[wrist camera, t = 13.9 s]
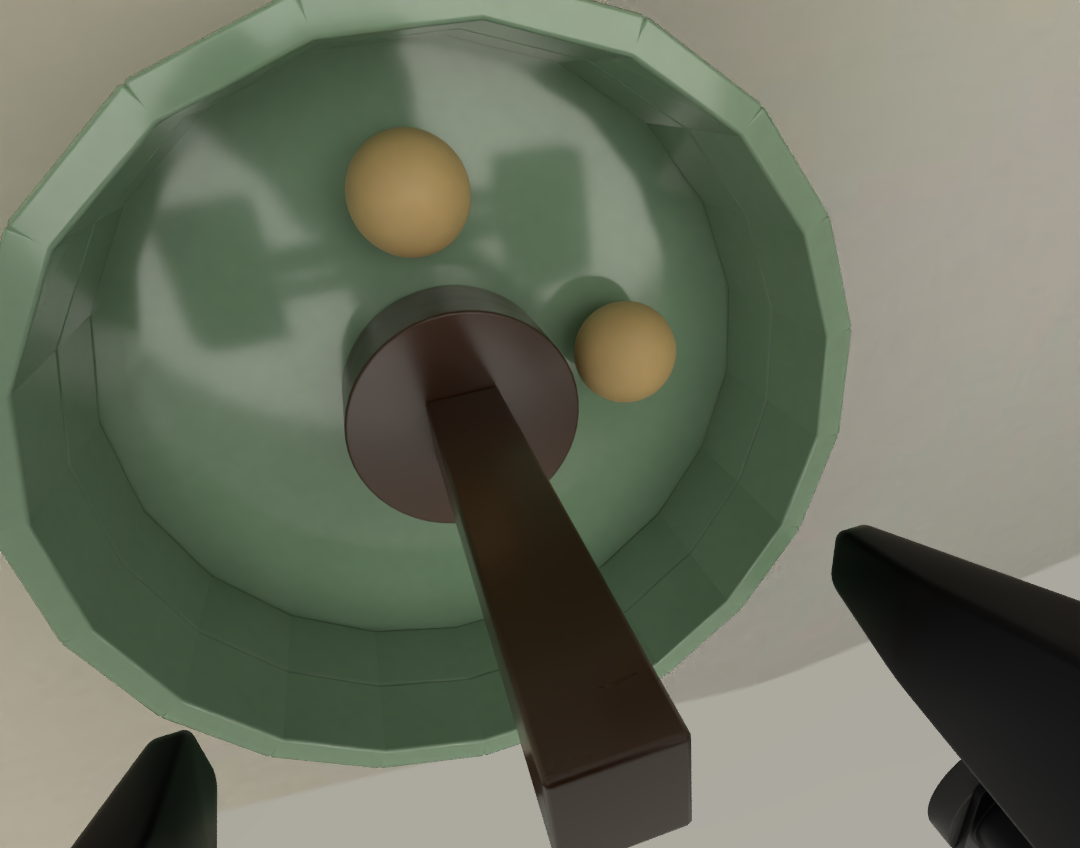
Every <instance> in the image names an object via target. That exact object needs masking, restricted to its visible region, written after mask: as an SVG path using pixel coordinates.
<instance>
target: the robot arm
mask: <svg viewBox="0 0 1080 848" xmlns="http://www.w3.org/2000/svg"><path fill="white" fill-rule="evenodd" d="M831 575H832V581H833V584H834V586H835V589H836V590H837V592H838V594H839V595H840V597H841V598H842V600H843V601H844V603H845V604H846V606H847V607H848V608H849V610H850V611H851V613H852V614H853V616H854V617H855V619H856V620H857V622H858V623H859V625H860V626H861V628H862V629H863V631H864V632H865V634H866V635H867V637H868V638H869V640H870V641H871V643H872V644H873V646H874V647H875V649H876V650H877V652H878V653H879V655H880V656H881V658H882V659H883V661H884V662H885V664H886V665H887V667H888V668H889V670H890V671H891V672H892V674H893V675H894V677H895V678H896V679H897V681H898V682H899V683H900V684H901V686H902V687H903V688H904V690H905V691H906V692H907V693H908V694H909V696H910V697H911V698H912V700H913V701H914V702H915V703H916V704H917V705H918V707H919V708H920V709H921V711H922V712H923V713H924V714H925V715H926V717H927V718H928V719H929V720H930V722H931V723H932V724H933V725H934V727H935V728H936V729H937V730H938V731H939V732H940V734H941V735H942V736H943V738H944V739H945V740H946V741H947V742H948V743H949V745H950V746H951V747H952V749H953V750H954V751H955V752H956V753H957V755H958V756H959V757H960V758H961V760H962V761H963V762H964V763H965V765H966V766H967V767H968V768H969V769H970V771H971V772H972V773H973V774H974V776H975V777H976V778H977V779H978V780H979V782H980V783H979V784H978V785H977V786H976V787H975V789H974V791H973V794H972V797H971V800H970V803H969V806H968V809H967V812H966V815H965V818H964V821H963V824H962V827H961V830H960V833H959V836H958V839H957V842H956V845H955V848H1080V601H1078V600H1075V599H1073V598H1070V597H1067V596H1064V595H1062V594H1059V593H1056V592H1053V591H1050V590H1048V589H1045V588H1042V587H1039V586H1036V585H1034V584H1031V583H1028V582H1025V581H1022V580H1020V579H1017V578H1014V577H1011V576H1009V575H1006V574H1003V573H1000V572H997V571H995V570H992V569H989V568H986V567H983V566H981V565H978V564H975V563H972V562H969V561H967V560H964V559H961V558H958V557H955V556H953V555H950V554H947V553H944V552H941V551H939V550H936V549H933V548H930V547H927V546H925V545H922V544H919V543H916V542H913V541H911V540H908V539H905V538H902V537H900V536H897V535H894V534H891V533H888V532H886V531H883V530H880V529H877V528H874V527H871V526H868V525H860V526H857V527H853V528H850V529H847V530H843V531H841V532H840V533H839V534H838V535H837V537H836V541H835V549H834V556H833V564H832V573H831ZM71 848H217V782H216V777H215V773H214V770H213V768H212V766H211V764H210V763H209V761H208V759H207V757H206V756H205V754H204V752H203V751H202V749H201V747H200V745H199V744H198V742H197V740H196V738H195V737H194V735H193V734H192V733H191V732H189V731H187V730H182V731H179V732H175V733H172V734H169V735H165V736H162V737H159V738H156V739H154V740H152V741H151V742H150V743H149V744H148V745H147V746H146V747H145V748H144V750H143V751H142V752H141V754H140V755H139V756H138V758H137V759H136V760H135V762H134V763H133V764H132V766H131V767H130V769H129V770H128V771H127V773H126V774H125V775H124V777H123V778H122V779H121V781H120V782H119V783H118V785H117V786H116V787H115V789H114V790H113V791H112V793H111V794H110V796H109V797H108V798H107V800H106V801H105V802H104V804H103V805H102V806H101V808H100V809H99V810H98V812H97V813H96V814H95V816H94V817H93V819H92V820H91V821H90V823H89V824H88V825H87V827H86V828H85V829H84V831H83V832H82V833H81V835H80V836H79V837H78V839H77V840H76V842H75V843H74V844H73V846H72V847H71Z"/></svg>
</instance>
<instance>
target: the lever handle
mask: <svg viewBox="0 0 1080 848" xmlns="http://www.w3.org/2000/svg"><path fill="white" fill-rule="evenodd" d="M342 396H343V414H344V431H345V441H346V446H347V450H348V454H349V457H350V459H351V462H352V464H353V467H354V468H355V470H356V472H357V474H358V475H359V477H360V479H361V480H362V481H363V482H364V484H365V485H366V486H367V487H368V489H369V490H370V491H371V492H372V493H374V494H375V495H376V496H377V497H378V498H379V499H380V500H382V501H383V502H384V503H386V504H387V505H389V506H390V507H392V508H394V509H395V510H397V511H399V512H401V513H403V514H406V515H408V516H411V517H414V518H417V519H421V520H425V521H429V522H437V523H456V525H457V528H458V532H459V535H460V538H461V542H462V545H463V549H464V552H465V555H466V559H467V562H468V566H469V569H470V572H471V576H472V579H473V583H474V586H475V589H476V593H477V596H478V600H479V603H480V606H481V610H482V613H483V617H484V620H485V623H486V627H487V630H488V634H489V637H490V640H491V644H492V647H493V650H494V654H495V657H496V661H497V664H498V667H499V671H500V674H501V678H502V681H503V684H504V688H505V691H506V695H507V698H508V701H509V705H510V708H511V712H512V715H513V718H514V722H515V725H516V729H517V732H518V735H519V739H520V742H521V746H522V749H523V752H524V756H525V759H526V762H527V766H528V769H529V772H530V776H531V779H532V783H533V786H534V790H535V793H536V796H537V800H538V803H539V807H540V810H541V813H542V817H543V820H544V824H545V827H546V830H547V834H548V837H549V841H550V844H551V847H552V848H628V847H631V846H634V845H636V844H639V843H642V842H644V841H647V840H649V839H652V838H655V837H657V836H660V835H663V834H665V833H668V832H671V831H673V830H676V829H678V828H681V827H684V826H686V825H688V824H689V823H690V822H691V821H692V809H691V808H692V804H691V803H692V800H691V799H692V798H691V734H690V732H689V730H688V728H687V727H686V725H685V723H684V721H683V719H682V718H681V716H680V714H679V712H678V710H677V709H676V707H675V705H674V703H673V701H672V700H671V698H670V696H669V694H668V692H667V691H666V689H665V687H664V685H663V683H662V682H661V680H660V678H659V676H658V675H657V673H656V671H655V669H654V667H653V666H652V664H651V662H650V660H649V658H648V657H647V655H646V653H645V651H644V649H643V648H642V646H641V644H640V642H639V640H638V639H637V637H636V635H635V633H634V632H633V630H632V628H631V626H630V624H629V623H628V621H627V619H626V617H625V615H624V614H623V612H622V610H621V608H620V606H619V605H618V603H617V601H616V599H615V597H614V596H613V594H612V592H611V590H610V588H609V587H608V585H607V583H606V581H605V580H604V578H603V576H602V574H601V572H600V571H599V569H598V567H597V565H596V563H595V562H594V560H593V558H592V556H591V554H590V553H589V551H588V549H587V547H586V545H585V544H584V542H583V540H582V538H581V536H580V535H579V533H578V531H577V529H576V528H575V526H574V524H573V522H572V520H571V519H570V517H569V515H568V513H567V511H566V510H565V508H564V506H563V504H562V502H561V501H560V499H559V497H558V495H557V493H556V492H555V490H554V488H553V486H552V484H551V483H550V481H549V480H550V479H551V478H552V477H553V476H554V475H555V473H556V472H557V470H558V469H559V468H560V466H561V465H562V463H563V462H564V460H565V458H566V456H567V454H568V452H569V450H570V448H571V445H572V442H573V440H574V437H575V433H576V429H577V424H578V415H579V398H578V392H577V386H576V383H575V379H574V376H573V373H572V371H571V369H570V367H569V365H568V363H567V361H566V359H565V358H564V356H563V355H562V353H561V352H560V351H559V349H558V348H557V347H556V346H555V344H554V343H553V342H552V341H551V340H550V339H549V337H548V336H547V335H546V334H545V333H544V332H543V330H542V329H541V328H540V327H539V326H538V325H537V324H536V322H535V321H534V320H533V319H532V318H531V317H530V316H529V315H528V314H527V313H526V312H525V311H524V310H523V309H521V308H520V307H519V306H518V305H516V304H515V303H513V302H512V301H510V300H508V299H507V298H505V297H503V296H501V295H498V294H496V293H493V292H491V291H488V290H484V289H480V288H476V287H468V286H442V287H434V288H429V289H426V290H422V291H418V292H416V293H413V294H411V295H408V296H406V297H403V298H402V299H400V300H398V301H396V302H395V303H393V304H391V305H390V306H388V307H387V308H386V309H384V310H383V311H382V312H380V313H379V314H378V315H377V316H376V317H375V318H374V319H373V320H372V321H371V322H370V323H369V324H368V325H367V326H366V327H365V329H364V330H363V331H362V333H361V334H360V335H359V337H358V338H357V340H356V342H355V344H354V345H353V347H352V349H351V352H350V354H349V357H348V359H347V362H346V366H345V370H344V374H343V384H342Z"/></svg>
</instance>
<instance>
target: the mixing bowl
mask: <svg viewBox="0 0 1080 848" xmlns="http://www.w3.org/2000/svg"><path fill="white" fill-rule="evenodd" d="M124 83H125V84H120V85H118V86H117V87H116V89H115V90H114V91H113V92H112V94H111V95H110V96H109V97H108V98H107V100H106V101H105V102H104V103H103V105H102V106H101V107H100V108H99V110H98V111H97V112H96V113H95V114H94V116H93V117H92V118H91V119H90V121H89V122H88V123H87V124H86V126H85V127H84V128H83V129H82V130H81V132H80V133H79V134H78V135H77V137H76V138H75V139H74V140H73V142H72V143H71V144H70V145H69V146H68V148H67V149H66V150H65V151H64V153H63V154H62V155H61V156H60V158H59V159H58V160H57V161H56V162H55V164H54V165H53V166H52V167H51V169H50V170H49V171H48V172H47V174H46V175H45V176H44V177H43V179H42V180H41V181H40V182H39V183H38V185H37V186H36V187H35V188H34V190H33V191H32V192H31V193H30V195H29V196H28V197H27V198H26V199H25V201H24V202H23V203H22V204H21V206H20V207H19V208H18V209H17V211H16V212H15V213H14V214H13V215H12V217H11V218H10V219H9V220H8V226H6V227H5V228H4V229H3V233H2V237H1V241H0V551H1V552H2V554H3V555H4V557H5V558H6V560H7V561H8V563H9V564H10V566H11V567H12V569H13V570H14V572H15V573H16V575H17V577H18V578H19V580H20V581H21V583H22V584H23V586H24V587H25V589H26V590H27V592H28V593H29V595H30V596H31V598H32V599H33V601H34V603H35V604H36V606H37V607H38V609H39V610H40V612H41V613H42V615H43V616H44V618H45V619H46V621H47V622H48V624H49V625H50V627H51V628H52V630H53V632H54V633H55V635H56V636H57V638H58V639H59V641H60V642H62V643H63V645H64V646H66V647H67V648H68V649H70V650H71V651H72V652H74V653H75V654H76V655H78V656H79V657H80V658H82V659H83V660H84V661H86V662H87V663H88V664H90V665H91V666H92V667H94V668H95V669H96V670H98V671H99V672H100V673H102V674H103V675H104V676H106V677H107V678H108V679H110V680H111V681H112V682H114V683H115V684H116V685H118V686H119V687H120V688H122V689H123V690H124V691H126V692H127V693H128V694H130V695H131V696H132V697H134V698H135V699H136V700H138V701H139V702H140V703H142V704H143V705H144V706H146V707H147V708H148V709H150V710H151V711H152V712H154V713H155V714H156V715H158V716H162V718H164V719H167V720H170V721H172V722H175V723H178V724H181V725H183V726H186V727H189V728H191V729H194V730H197V731H200V732H202V733H205V734H208V735H211V736H213V737H216V738H219V739H221V740H224V741H227V742H230V743H232V744H235V745H238V746H241V747H243V748H246V749H249V750H251V751H254V752H257V753H260V754H262V755H265V756H270V755H271V757H275V758H285V759H295V760H304V761H314V762H324V763H334V764H343V765H353V766H363V767H373V768H378V767H379V766H380V767H381V768H385V767H393V766H402V765H410V764H419V763H427V762H435V761H443V760H452V759H461V758H469V757H478V756H482V755H484V754H485V755H488V754H491V753H493V752H497V751H500V750H503V749H506V748H509V747H512V746H515V745H518V744H521V742H520V739H519V735H518V732H517V729H516V725H515V722H514V718H513V715H512V712H511V708H510V705H509V701H508V698H507V695H506V691H505V688H504V684H503V681H502V678H501V674H500V671H499V667H498V664H497V661H496V657H495V654H494V650H493V647H492V644H491V640H490V637H489V634H488V630H487V627H486V623H485V620H484V617H483V613H482V610H481V606H480V603H479V600H478V596H477V593H476V589H475V586H474V583H473V579H472V576H471V572H470V569H469V566H468V562H467V559H466V555H465V552H464V549H463V545H462V542H461V538H460V535H459V532H458V528H457V525H456V523H437V522H429V521H425V520H421V519H417V518H414V517H411V516H408V515H406V514H403V513H401V512H399V511H397V510H395V509H394V508H392V507H390V506H389V505H387V504H386V503H384V502H383V501H382V500H380V499H379V498H378V497H377V496H376V495H375V494H374V493H372V492H371V491H370V490H369V489H368V487H367V486H366V485H365V484H364V482H363V481H362V480H361V479H360V477H359V475H358V474H357V472H356V470H355V468H354V467H353V464H352V462H351V459H350V457H349V454H348V450H347V446H346V441H345V431H344V414H343V396H342V384H343V374H344V370H345V366H346V362H347V359H348V357H349V354H350V352H351V349H352V347H353V345H354V344H355V342H356V340H357V338H358V337H359V335H360V334H361V333H362V331H363V330H364V329H365V327H366V326H367V325H368V324H369V323H370V322H371V321H372V320H373V319H374V318H375V317H376V316H377V315H378V314H379V313H380V312H382V311H383V310H384V309H386V308H387V307H388V306H390V305H391V304H393V303H395V302H396V301H398V300H400V299H402V298H403V297H406V296H408V295H411V294H413V293H416V292H418V291H422V290H426V289H429V288H434V287H442V286H468V287H476V288H480V289H484V290H488V291H491V292H493V293H496V294H498V295H501V296H503V297H505V298H507V299H508V300H510V301H512V302H513V303H515V304H516V305H518V306H519V307H520V308H521V309H523V310H524V311H525V312H526V313H527V314H528V315H529V316H530V317H531V318H532V319H533V320H534V321H535V322H536V324H537V325H538V326H539V327H540V328H541V329H542V330H543V332H544V333H545V334H546V335H547V336H548V337H549V339H550V340H551V341H552V342H553V343H554V344H555V346H556V347H557V348H558V349H559V351H560V352H561V353H562V355H563V356H564V358H565V359H566V361H567V363H568V365H569V367H570V369H571V371H572V373H573V376H574V379H575V383H576V386H577V392H578V398H579V415H578V424H577V429H576V433H575V437H574V440H573V442H572V445H571V448H570V450H569V452H568V454H567V456H566V458H565V460H564V462H563V463H562V465H561V466H560V468H559V469H558V470H557V472H556V473H555V475H554V476H553V477H552V478H551V479H550V480H549V481H550V483H551V484H552V486H553V488H554V490H555V492H556V493H557V495H558V497H559V499H560V501H561V502H562V504H563V506H564V508H565V510H566V511H567V513H568V515H569V517H570V519H571V520H572V522H573V524H574V526H575V528H576V529H577V531H578V533H579V535H580V536H581V538H582V540H583V542H584V544H585V545H586V547H587V549H588V551H589V553H590V554H591V556H592V558H593V560H594V562H595V563H596V565H597V567H598V569H599V571H600V572H601V574H602V576H603V578H604V580H605V581H606V583H607V585H608V587H609V588H610V590H611V592H612V594H613V596H614V597H615V599H616V601H617V603H618V605H619V606H620V608H621V610H622V612H623V614H624V615H625V617H626V619H627V621H628V623H629V624H630V626H631V628H632V630H633V632H634V633H635V635H636V637H637V639H638V640H639V642H640V644H641V646H642V648H643V649H644V651H645V653H646V655H647V657H648V658H649V660H650V662H651V664H652V666H653V667H654V669H655V671H656V673H657V675H658V676H659V678H661V677H662V676H664V675H665V674H666V673H669V672H670V671H671V670H672V669H674V668H675V667H676V666H677V665H678V664H679V663H680V662H681V661H683V660H684V659H685V658H686V657H687V656H688V655H689V654H691V653H692V652H693V651H694V650H695V649H696V648H697V647H698V646H700V645H701V644H702V643H703V642H704V641H705V640H706V639H707V638H709V637H710V636H711V635H712V634H713V633H714V632H715V631H717V630H718V629H719V628H720V627H721V626H722V625H723V624H724V623H726V622H727V621H728V620H729V619H730V618H731V617H732V616H733V615H735V614H736V613H737V612H738V611H739V610H740V608H742V607H743V606H744V604H745V603H746V602H747V600H748V599H749V597H750V596H751V595H752V593H753V592H754V591H755V589H756V588H757V587H758V585H759V584H760V582H761V581H762V580H763V578H764V577H765V576H766V574H767V573H768V571H769V570H770V569H771V567H772V566H773V565H774V563H775V562H776V560H777V559H778V558H779V556H780V555H781V554H782V552H783V551H784V550H785V548H786V547H787V545H788V544H789V543H790V541H791V540H792V539H793V537H794V536H795V534H796V533H797V532H798V530H799V527H800V526H801V524H802V521H803V519H804V516H805V514H806V511H807V509H808V507H809V504H810V502H811V499H812V497H813V494H814V492H815V490H816V487H817V485H818V482H819V480H820V477H821V475H822V473H823V470H824V468H825V465H826V463H827V460H828V458H829V456H830V453H831V451H832V448H833V446H834V444H835V441H836V439H837V434H838V433H839V428H840V419H841V411H842V403H843V394H844V386H845V378H846V369H847V361H848V353H849V344H850V336H851V329H850V327H851V323H850V318H849V313H848V308H847V303H846V298H845V293H844V288H843V282H842V277H841V272H840V267H839V262H838V257H837V252H836V247H835V241H834V236H833V231H832V226H831V221H830V217H829V216H827V215H828V213H827V211H826V210H825V208H824V206H823V205H822V203H821V201H820V200H819V198H818V196H817V195H816V193H815V191H814V190H813V188H812V186H811V185H810V183H809V181H808V180H807V178H806V176H805V175H804V173H803V171H802V170H801V168H800V166H799V165H798V163H797V161H796V160H795V158H794V156H793V155H792V153H791V152H790V150H789V148H788V147H787V145H786V143H785V142H784V140H783V138H782V137H781V135H780V133H779V132H778V130H777V128H776V127H775V125H774V123H773V122H772V120H771V118H770V117H769V115H768V113H767V112H766V110H765V109H764V108H763V107H761V104H760V103H759V102H758V101H757V100H755V99H754V98H753V97H752V96H750V95H749V94H748V93H746V92H745V91H744V90H742V89H741V88H740V87H738V86H737V85H736V84H735V83H733V82H732V81H731V80H729V79H728V78H727V77H725V76H724V75H723V74H722V73H720V72H719V71H718V70H716V69H715V68H714V67H712V66H711V65H710V64H708V63H707V62H706V61H705V60H703V59H702V58H701V57H699V56H698V55H697V54H695V53H694V52H693V51H691V50H690V49H689V48H688V47H686V46H685V45H684V44H682V43H681V42H680V41H678V40H677V39H676V38H674V37H673V36H672V35H671V34H669V33H668V32H667V31H665V30H664V29H663V28H661V27H660V26H659V25H658V24H656V23H655V22H654V21H652V20H651V19H650V18H646V17H645V18H644V16H643V15H642V14H639V13H636V12H632V11H629V10H625V9H621V8H618V7H614V6H611V5H607V4H604V3H600V2H596V1H593V0H273V1H271V2H269V3H268V4H266V5H264V6H262V7H260V8H258V9H256V10H254V11H252V12H251V13H249V14H247V15H245V16H243V17H241V18H239V19H237V20H236V21H234V22H232V23H230V24H228V25H226V26H224V27H222V28H221V29H219V30H217V31H215V32H213V33H211V34H209V35H207V36H205V37H204V38H202V39H200V40H198V41H196V42H194V43H192V44H190V45H189V46H187V47H185V48H183V49H181V50H179V51H177V52H175V53H173V54H172V55H170V56H168V57H166V58H164V59H162V60H160V61H158V62H157V63H155V64H153V65H151V66H149V67H147V68H145V69H143V70H141V71H140V72H138V73H136V74H134V75H132V76H130V77H128V78H126V80H125V81H124ZM395 127H413V128H418V129H422V130H425V131H427V132H430V133H432V134H434V135H436V136H437V137H439V138H441V139H442V140H443V141H445V142H446V143H447V144H448V145H449V146H450V147H451V148H452V149H453V150H454V151H455V152H456V154H457V155H458V156H459V158H460V160H461V161H462V163H463V165H464V167H465V169H466V172H467V174H468V178H469V182H470V187H471V206H470V211H469V215H468V218H467V221H466V223H465V225H464V227H463V229H462V231H461V232H460V233H459V235H458V236H457V238H456V239H455V240H454V241H453V242H452V243H451V244H449V245H448V246H447V247H445V248H444V249H442V250H441V251H439V252H437V253H434V254H432V255H429V256H425V257H419V258H404V257H398V256H394V255H391V254H389V253H386V252H384V251H382V250H380V249H379V248H377V247H376V246H374V245H373V244H372V243H370V242H369V241H368V240H367V239H366V238H365V237H364V236H363V235H362V234H361V233H360V231H359V230H358V229H357V227H356V225H355V224H354V222H353V220H352V218H351V216H350V213H349V211H348V207H347V203H346V199H345V178H346V173H347V169H348V167H349V164H350V161H351V159H352V157H353V156H354V154H355V153H356V151H357V150H358V149H359V147H360V146H361V145H362V144H363V143H364V142H365V141H366V140H367V139H369V138H370V137H371V136H373V135H375V134H377V133H378V132H381V131H383V130H386V129H390V128H395ZM618 301H634V302H638V303H642V304H645V305H647V306H649V307H651V308H652V309H654V310H655V311H657V312H658V313H659V314H660V315H661V316H662V317H663V318H664V319H665V320H666V322H667V323H668V325H669V326H670V328H671V330H672V332H673V335H674V338H675V343H676V358H675V363H674V367H673V370H672V372H671V374H670V376H669V378H668V379H667V381H666V382H665V383H664V385H663V386H662V387H661V388H660V389H659V390H658V391H656V392H655V393H654V394H652V395H651V396H649V397H647V398H645V399H642V400H639V401H635V402H627V403H621V402H614V401H610V400H607V399H604V398H602V397H600V396H598V395H597V394H595V393H594V392H593V391H591V390H590V389H589V388H588V387H587V386H586V384H585V383H584V382H583V380H582V379H581V377H580V375H579V373H578V371H577V368H576V365H575V359H574V346H575V341H576V337H577V334H578V332H579V329H580V328H581V326H582V324H583V323H584V321H585V320H586V319H587V318H588V317H589V316H590V315H591V314H592V313H593V312H594V311H596V310H597V309H599V308H600V307H602V306H605V305H607V304H609V303H613V302H618Z"/></svg>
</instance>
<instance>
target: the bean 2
mask: <svg viewBox="0 0 1080 848" xmlns="http://www.w3.org/2000/svg"><path fill="white" fill-rule="evenodd" d="M675 358H676V343H675V338H674V335H673V332H672V330H671V328H670V326H669V325H668V323H667V322H666V320H665V319H664V318H663V317H662V316H661V315H660V314H659V313H658V312H657V311H655V310H654V309H652V308H651V307H649V306H647V305H645V304H642V303H638V302H634V301H618V302H613V303H609V304H607V305H605V306H602V307H600V308H599V309H597V310H596V311H594V312H593V313H592V314H591V315H590V316H589V317H588V318H587V319H586V320H585V321H584V323H583V324H582V326H581V328H580V329H579V332H578V334H577V337H576V341H575V346H574V359H575V365H576V368H577V371H578V373H579V375H580V377H581V379H582V380H583V382H584V383H585V384H586V386H587V387H588V388H589V389H590V390H591V391H593V392H594V393H595V394H597V395H598V396H600V397H602V398H604V399H607V400H610V401H614V402H621V403H627V402H635V401H639V400H642V399H645V398H647V397H649V396H651V395H652V394H654V393H655V392H656V391H658V390H659V389H660V388H661V387H662V386H663V385H664V383H665V382H666V381H667V379H668V378H669V376H670V374H671V372H672V370H673V367H674V363H675Z"/></svg>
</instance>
